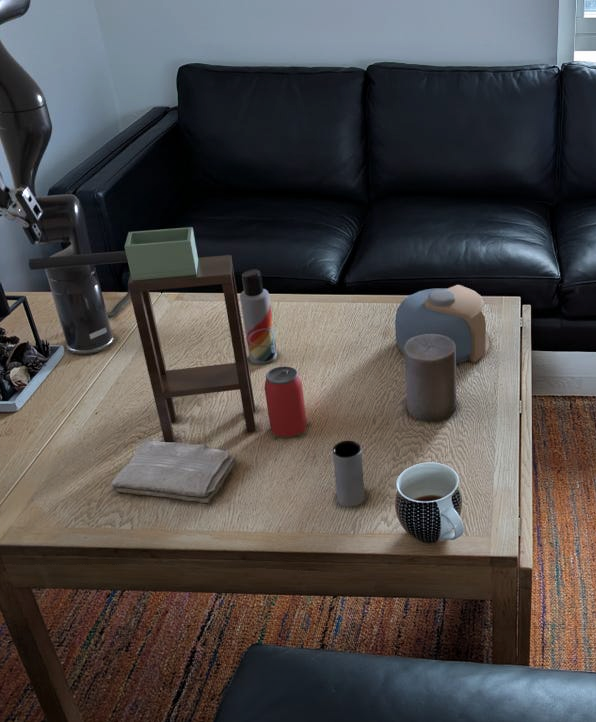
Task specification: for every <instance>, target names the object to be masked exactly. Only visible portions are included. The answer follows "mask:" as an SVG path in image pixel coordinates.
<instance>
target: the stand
mask: <svg viewBox="0 0 596 722" xmlns="http://www.w3.org/2000/svg"><path fill="white" fill-rule="evenodd" d="M215 285H221V286H222V290H223V297H224V303H225V309H226V315H227V321H228V326H229V332H230V333H229V334H230V339H231V346H232V351H233V357H234V362H230V363H221V364H212V365H203V366H194V367H186V368H185V367H183V368H177V369H176V368H175V369H168V370H167V366H166V361H165V358H164V353H163V349H162V344H161V339H160V334H159V330H158V325H157V321H156V315H155V312H154V307H153V303H152V298H151V293H150V291H161V290H171V289H172V290H173V289H182V288H183V289H184V288H194V287H203V286H205V287H206V286H215ZM127 287H128V289H129V291H130V299H131V303H132V308H133V312H134V317H135V322H136V326H137V331H138V334H139V338H140V342H141V347H142V351H143V357H144V359H145V365H146V368H147V373H148V377H149V382H150V385H151V390H152V395H153V399H154V402H155V403H154V404H155V407H156V411H157V417H158V420H159V424H160V428H161V433H162V437H163V438H162V439H163V442H170V443H171V442H173V443H175V439H176V438H175V432H174V427H173V424H172V423H177V418H178V417H177V411H176V408H175V403H174V399H173V398H180V397H188V396H194V395H195V396H198V395H205V394H213V393H223V392H230V391H231V392H232V391H239V393H240V398H241V405H242V411H243V417H244V423H245V429H246V433H254V432H256V431H257V426H256V420H255V419H256V418H255V413H256V404H255V398H254V391H253V385H252V379H251V378H252V377H251V372H250V365H249V359H248V355H247V346H246V341H245V333H244V328H243V327H244V326H243V322H242V315H241V309H240V301H239V297H238V295H239V294H238V291H237V290H238V289H237V284H236V277H235V269H234V264H233V257H232V255H231V254H227V255H215V256H214V255H212V256H203V257H201V256H200V257H198V268H197V275H191V276H179V277H168V278H157V279H146V280H135V281H132V277H131V273H130V274H129V277H128V282H127Z"/></svg>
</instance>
